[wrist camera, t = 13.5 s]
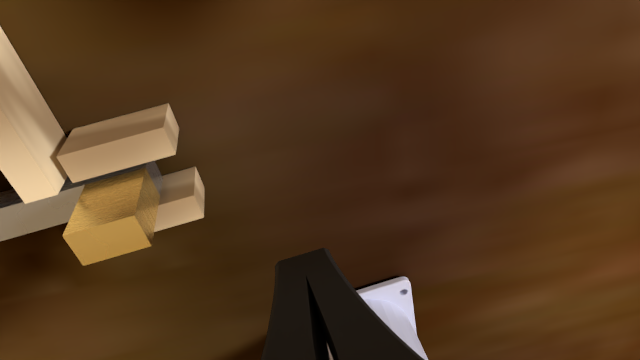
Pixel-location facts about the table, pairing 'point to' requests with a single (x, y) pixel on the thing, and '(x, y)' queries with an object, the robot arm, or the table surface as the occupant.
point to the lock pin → (92, 213)
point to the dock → (85, 146)
